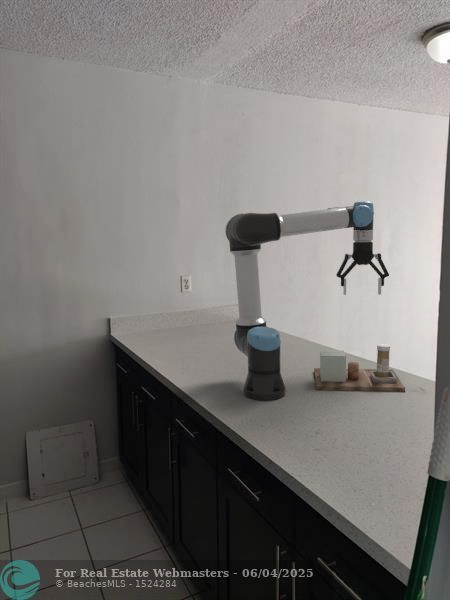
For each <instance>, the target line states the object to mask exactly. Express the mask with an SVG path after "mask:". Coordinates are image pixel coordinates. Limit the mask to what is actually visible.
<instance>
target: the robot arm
mask: <svg viewBox="0 0 450 600" xmlns="http://www.w3.org/2000/svg"><path fill="white" fill-rule="evenodd" d="M374 210H375V209H374V203H373V202H372V201H356V202H354V203H353V205H352V206H351V205H350V206H341V207H340V206H339V207H338V206H334V207H328V208H326V209H320V210H311V211H302V212H295V213H285V214H278V213H277V212H271V213H261V212H259V213H258V212H247V213H238V214H235V215H234V216H232V217H231V218H230V219H228V221H227V223H226V225H225V236H226V238H227V240H228V242H229V243H228V244H229V252H230V253H231V254H232V255H233V256H234V265H235V266H234V268H235V277H236V278H235V279H236V281H235V282H236V293H237V303H238V304H237V305H238V306H237V307H238V317H239V318H238V319H237V320H236V321H235V331H234V335H233V341H234V344H235V346H236V347H237V348H236V349H238V351H240V352H241V353H242V354H244V355H245V356H246V357H247V375H246V379H245V382H244V385H243V395H244V396H245V397H246V398H248V399H250V400H251V399H252V400H259V401H273V400H277V399H278V400H279V399H280V398H282V397H284V396H285V395H286V386H285V385H286V384H285V382H284V380H283V376H282V373H281V343H282V341H281V335H280V332H279V331H278V330H277V329H276V328H273V327H268V326H267V320H266V319H265V318H264V316H263V314H262V303H261V291H260V290H261V289H260V288H261V287H260V275H259V274H260V273H259V260H258V259H259V258H258V253H259V252H260V251H261V249H262V246H261V245H262V244H266V243H270V242H277V241H279V240H281V238H284V237H291V236H297V235H305V234H313V233H314V234H315V233H319V232H327V231H335V230H342V229H350V228H352V229H353V230H352V232H353V234H352V235H353V236H352V238H353V239H352V241H354V242H353V243H352V253H351V254H349V253H345V255H344V259H343V261H342V262H341V265H340V267H339V269H338V271H337V272H336V277H337V278H339V279H340V286H341V287H343V295H344V296H346V295H347V278H346V277H347V275H349V273H351V271H352V270H353V269H354V267H356V265H357V266H368V265H370V267H371V268H372V269H373V270H374V272H375V273H376V274H377V275H378V276H379V277H378V281H377V287H378V288H377V295H379V296H380V295H381V296H382V287H384V286H385V278H387V277H389V276H390V274H389V272H388V269H387V267H386V266H385V263H384V262H383V260H382V253H380V252H378V253H374V249H373V247H374V246H373V245H374V243H373V240H374V215H375V212H374ZM351 258H352V260H353V261H352V262H351V264H350V265H349V266H348V267H347V268H346V270H345V271H344V269H345V267H346V265H347V263H348V261H349V260H350V259H351ZM374 258H375V259H376V260H377V263H378V265H379V266H380V268H381V270H379V268H378V267H377V266H376V265H375V262H373V259H374ZM381 271H382V272H383V273H382V272H381Z"/></svg>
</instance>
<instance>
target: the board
mask: <svg viewBox="0 0 450 600" xmlns="http://www.w3.org/2000/svg"><path fill="white" fill-rule="evenodd" d="M313 370H314V377H315V378H314V379H315V385H316V390H317V391H352V392H353V391H355V392H356V391H358V392H359V391H360V392H364V391H365V392H400V393H401V392H403V393H405V392H406V386H405V385H404V383H403V382H402V381H401V380H400V378H399V376H398V375H397V374H396V372H395V371H394V369H390V368H389V371H392V372H393V373H394V374H395V376H396V377H397V383H374V382H373V380H372V378H371V377H370V371H377V368H360V364H359V362H355V361H349V362H348V363H347V368H346V382H330V381H321V377H320V367H319V368H318V367H317V368H313Z"/></svg>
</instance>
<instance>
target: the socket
mask: <svg viewBox="0 0 450 600" xmlns="http://www.w3.org/2000/svg"><path fill="white" fill-rule="evenodd" d="M395 374H396V373H395ZM395 374H394V373H393V372H392V371H389V372H388V377H376V375H377V371H370V377H371V378H372V380H373V382H374V383H397V377H398V376H397V377H396V376H395Z"/></svg>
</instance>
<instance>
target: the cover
mask: <svg viewBox="0 0 450 600" xmlns="http://www.w3.org/2000/svg"><path fill="white" fill-rule="evenodd" d="M319 368H320V377H321V381H330V382H346V369H347V355H346V352H345V350H331V349H330V350H329V349H328V350H321V349H320V350H319Z"/></svg>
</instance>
